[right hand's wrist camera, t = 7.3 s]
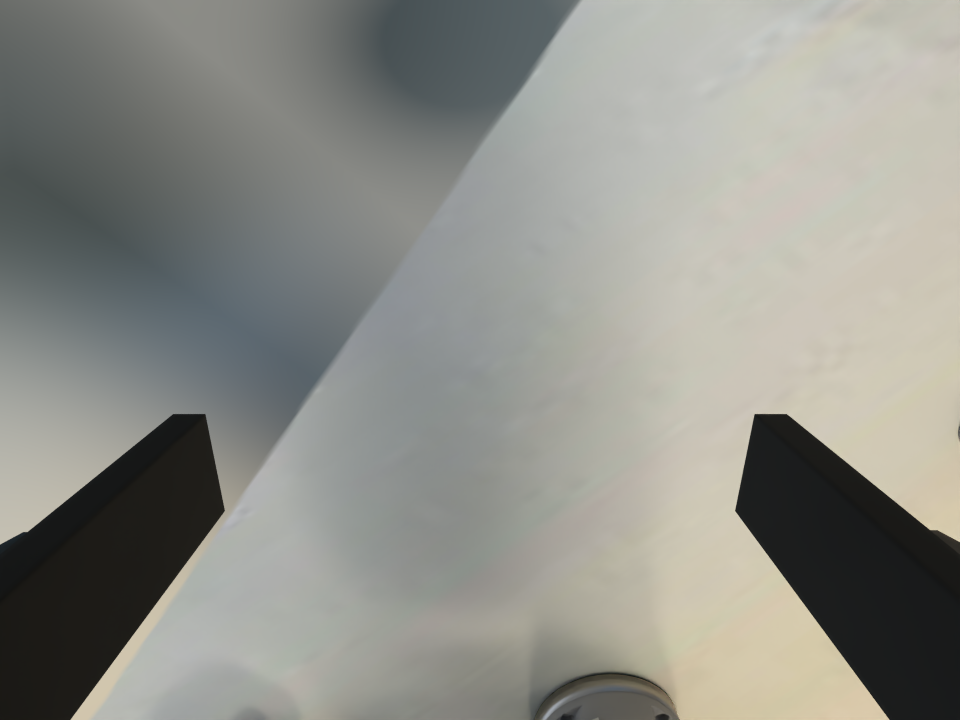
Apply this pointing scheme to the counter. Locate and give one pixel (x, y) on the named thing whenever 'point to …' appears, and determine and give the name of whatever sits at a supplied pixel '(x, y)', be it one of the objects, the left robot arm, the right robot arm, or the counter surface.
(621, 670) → the counter surface
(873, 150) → the counter surface
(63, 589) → the right robot arm
